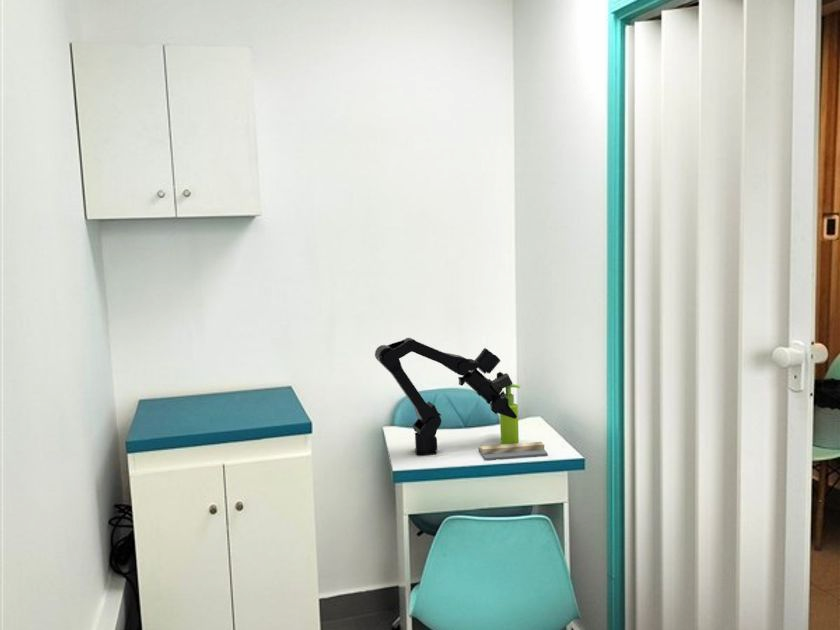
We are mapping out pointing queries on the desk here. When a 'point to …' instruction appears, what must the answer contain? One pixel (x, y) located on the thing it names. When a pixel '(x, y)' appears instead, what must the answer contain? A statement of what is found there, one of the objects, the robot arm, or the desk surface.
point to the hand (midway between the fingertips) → (514, 415)
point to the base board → (514, 455)
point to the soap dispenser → (509, 420)
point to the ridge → (512, 448)
